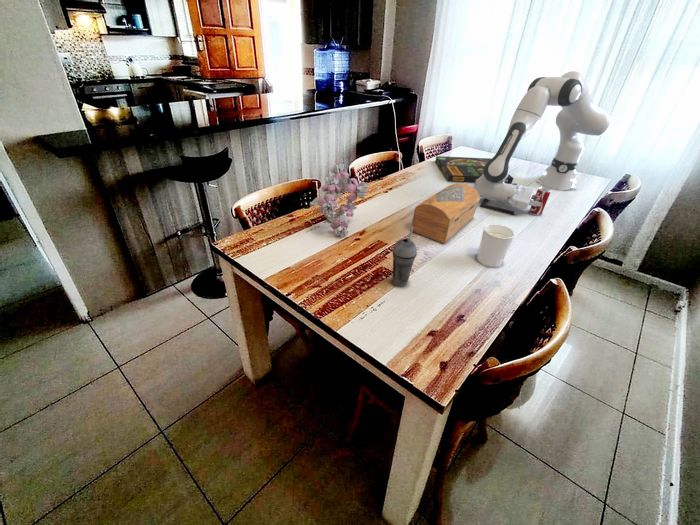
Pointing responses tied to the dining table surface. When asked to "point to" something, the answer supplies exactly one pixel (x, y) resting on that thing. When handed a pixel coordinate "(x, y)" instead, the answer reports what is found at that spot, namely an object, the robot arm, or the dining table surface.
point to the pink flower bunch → (334, 192)
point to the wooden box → (446, 212)
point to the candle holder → (494, 244)
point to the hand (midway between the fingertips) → (541, 201)
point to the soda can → (542, 197)
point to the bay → (496, 208)
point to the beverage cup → (403, 260)
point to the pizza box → (464, 168)
